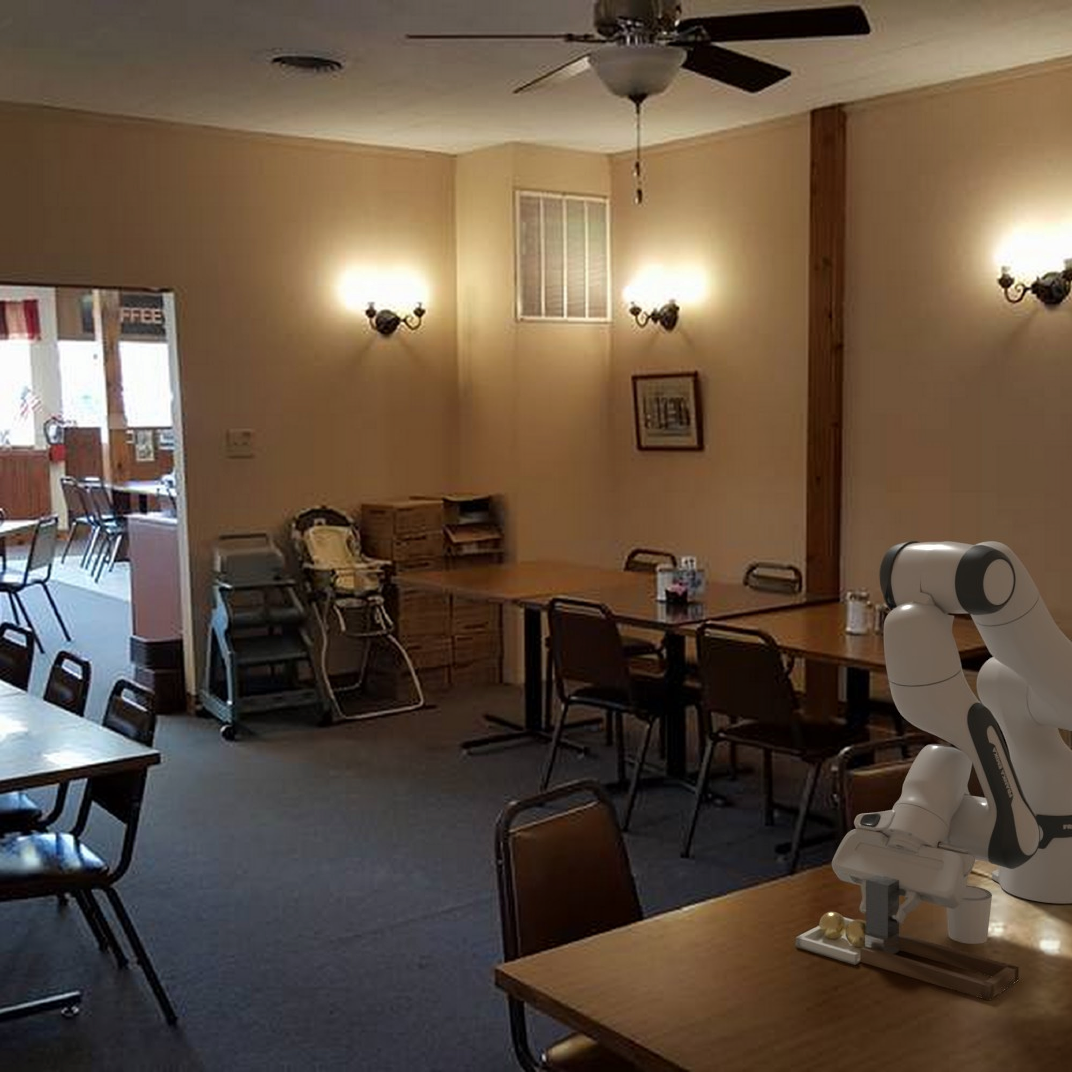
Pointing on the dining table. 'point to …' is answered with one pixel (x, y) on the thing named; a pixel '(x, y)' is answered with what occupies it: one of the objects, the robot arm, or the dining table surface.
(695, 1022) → the dining table surface
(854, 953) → the tray
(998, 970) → the slot rail
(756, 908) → the dining table surface
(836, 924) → the shiny gold ball
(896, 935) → the long gray brick
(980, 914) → the white cup
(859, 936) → the brass sphere
